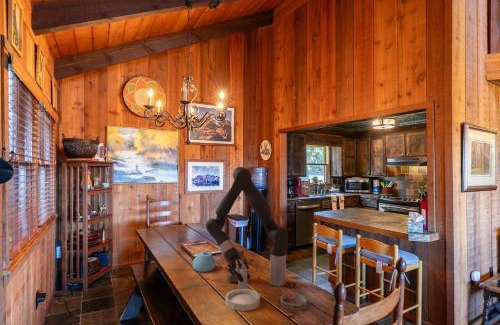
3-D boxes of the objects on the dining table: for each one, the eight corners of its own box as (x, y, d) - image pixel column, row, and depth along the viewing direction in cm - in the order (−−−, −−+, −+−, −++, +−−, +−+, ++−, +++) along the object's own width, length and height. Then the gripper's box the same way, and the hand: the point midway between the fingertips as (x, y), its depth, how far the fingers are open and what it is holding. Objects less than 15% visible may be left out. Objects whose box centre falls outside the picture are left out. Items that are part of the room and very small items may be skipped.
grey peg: (242, 284, 148) (242, 266, 148) (248, 286, 145) (249, 269, 145) (236, 287, 144) (236, 269, 144) (243, 289, 141) (243, 271, 142)
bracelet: (275, 305, 142) (275, 299, 142) (287, 295, 154) (287, 290, 154) (300, 314, 135) (300, 307, 135) (311, 302, 146) (311, 296, 146)
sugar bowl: (211, 273, 182) (211, 255, 182) (188, 271, 185) (189, 253, 185) (218, 265, 196) (218, 249, 196) (197, 264, 199) (198, 247, 199)
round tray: (241, 291, 157) (241, 286, 157) (266, 301, 146) (266, 295, 146) (218, 302, 143) (218, 296, 143) (244, 314, 133) (244, 308, 133)
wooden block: (229, 283, 167) (230, 252, 167) (226, 280, 171) (227, 250, 171) (243, 280, 171) (244, 250, 171) (240, 278, 175) (240, 248, 175)
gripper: (223, 249, 144) (240, 280, 136) (241, 244, 155) (258, 272, 147) (215, 257, 147) (232, 288, 140) (234, 251, 158) (250, 279, 151)
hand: (245, 279), depth 143 cm, fingers closed on grey peg, 4 cm apart
